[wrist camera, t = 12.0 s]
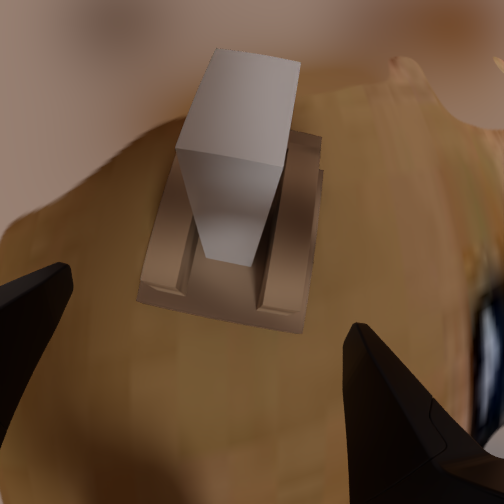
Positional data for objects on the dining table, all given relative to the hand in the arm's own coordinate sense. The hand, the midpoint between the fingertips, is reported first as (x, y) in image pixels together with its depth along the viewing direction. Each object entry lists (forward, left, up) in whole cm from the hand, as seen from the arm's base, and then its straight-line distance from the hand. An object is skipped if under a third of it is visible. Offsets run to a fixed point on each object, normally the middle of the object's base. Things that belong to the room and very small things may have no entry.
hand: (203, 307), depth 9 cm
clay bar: (+4, +5, -11) cm, 13 cm away
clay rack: (+4, +5, -13) cm, 14 cm away
